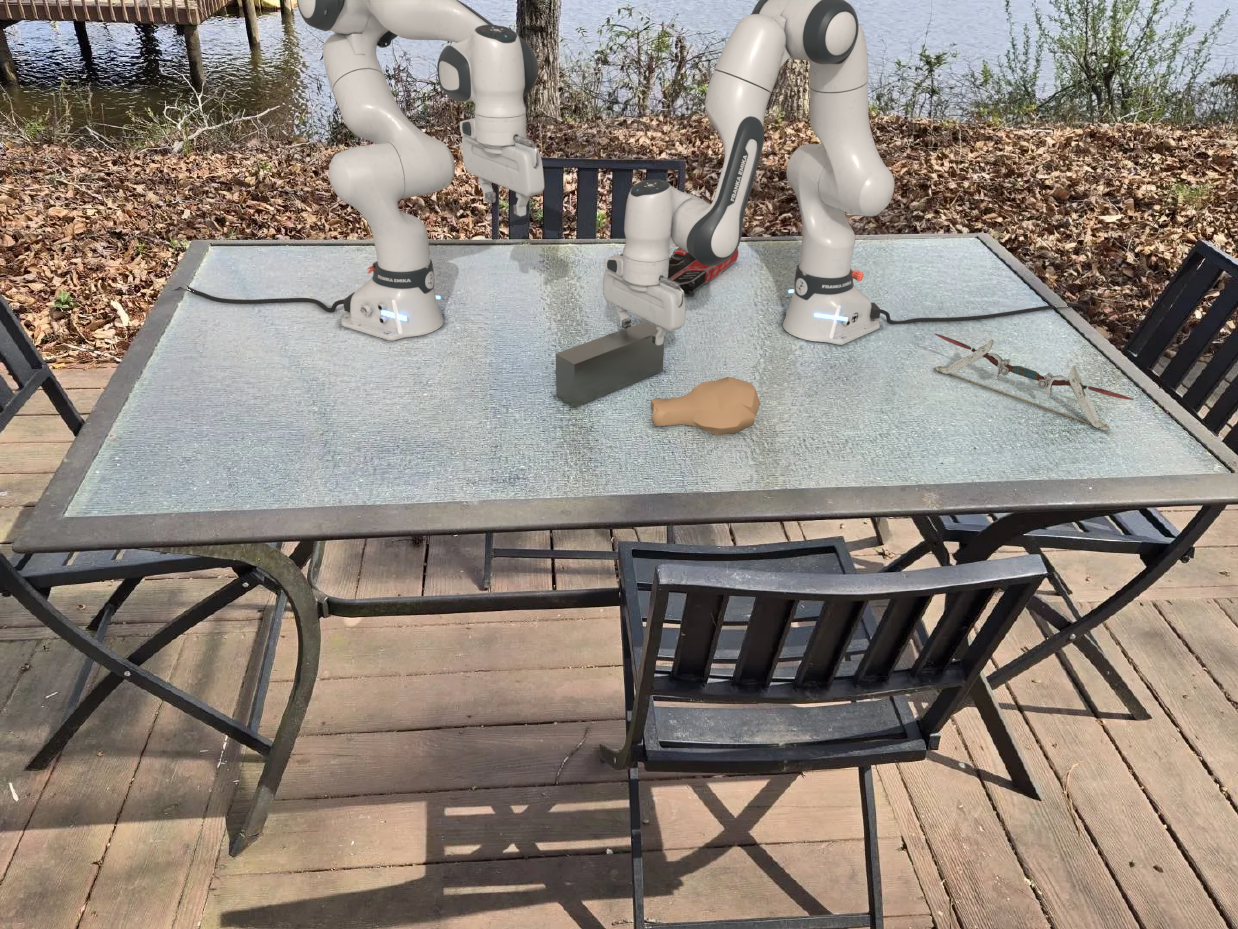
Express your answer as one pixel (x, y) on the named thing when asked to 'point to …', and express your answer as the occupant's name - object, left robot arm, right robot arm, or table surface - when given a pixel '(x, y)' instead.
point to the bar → (608, 364)
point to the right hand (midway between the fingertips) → (641, 335)
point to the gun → (694, 270)
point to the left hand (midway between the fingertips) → (504, 208)
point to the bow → (1043, 381)
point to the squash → (711, 407)
